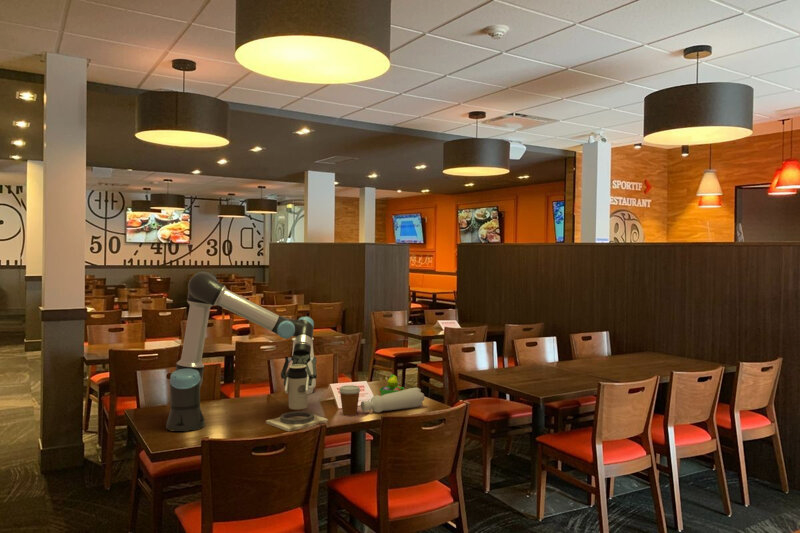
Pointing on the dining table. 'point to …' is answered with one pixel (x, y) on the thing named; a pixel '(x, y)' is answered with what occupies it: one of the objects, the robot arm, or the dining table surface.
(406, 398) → the bottle
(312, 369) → the vase
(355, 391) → the disposable coffee cup
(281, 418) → the collar board
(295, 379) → the travel mug
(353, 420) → the dining table surface
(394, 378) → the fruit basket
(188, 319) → the robot arm
